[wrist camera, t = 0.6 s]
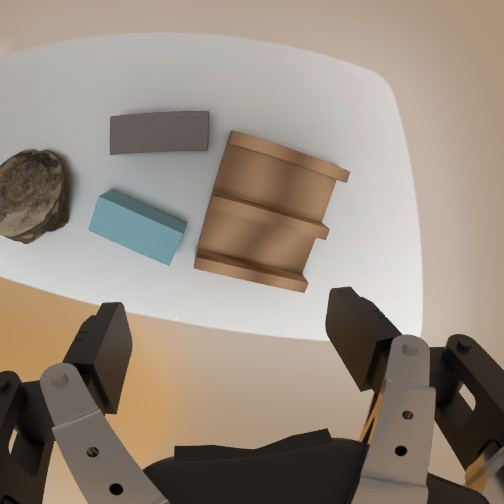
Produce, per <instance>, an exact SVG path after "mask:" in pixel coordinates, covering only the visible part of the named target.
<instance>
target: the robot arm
mask: <svg viewBox="0 0 504 504" xmlns="http://www.w3.org/2000/svg"><path fill="white" fill-rule="evenodd" d="M325 326H326V332H327V335H328V337H329V339H330V341H331V342H332V344H333V345H334V347H335V349H336V351H337V352H338V354H339V356H340V357H341V359H342V361H343V362H344V364H345V366H346V368H347V369H348V371H349V372H350V374H351V376H352V378H353V379H354V381H355V383H356V384H357V386H358V388H359V390H360V391H361V392H362V391H366V390H369V389H373V391H374V394H373V397H372V400H371V404H370V407H369V411H368V414H367V417H366V420H365V424H364V426H363V430H362V433H361V436H360V438H359V440H358V441H355V440H351V439H345V438H331V436H330V433H329V431H328V429H322V430H318V431H313V432H309V433H303V434H298V435H293V436H290V437H287V438H285V439H282V440H280V441H277V442H275V443H272V444H269V445H266V446H264V447H261V448H258V449H241V448H232V447H224V446H217V445H202V446H175V450H174V452H175V453H174V456H173V457H169V458H166V459H163V460H160V461H158V462H155V463H153V464H151V465H149V466H148V467H146V468H145V469H143V470H142V469H141V468H140V467H139V466H138V464H137V463H136V462H135V460H134V459H133V458H132V456H131V455H130V454H129V452H128V451H127V450H126V448H125V447H124V446H123V444H122V443H121V441H120V440H119V438H118V437H117V435H116V434H115V433H114V431H113V429H112V428H111V426H110V425H109V423H108V422H107V420H106V418H105V413H107V414H117V409H118V405H119V400H120V396H121V392H122V387H123V383H124V379H125V375H126V371H127V367H128V364H129V359H130V356H131V352H132V337H131V332H130V329H129V325H128V321H127V317H126V313H125V309H124V305H123V304H122V303H121V302H109V303H102V305H101V307H100V309H99V310H98V312H97V314H96V315H92V316H90V317H89V318H88V319H87V320H86V321H85V322H83V324H82V325H81V327H80V329H79V331H78V333H77V335H76V337H75V340H74V341H73V342H72V344H71V346H70V348H69V350H68V352H67V354H66V356H65V358H64V360H63V362H62V363H58V364H55V365H52V366H51V367H49V368H47V369H46V370H45V371H44V372H43V374H42V376H41V377H40V380H38V381H31V382H24V383H22V382H21V380H20V378H19V376H18V375H17V374H16V373H15V372H13V371H3V372H0V504H42V501H43V494H44V488H45V482H46V476H47V472H48V466H49V462H50V457H51V453H52V448H53V444H54V441H57V444H58V446H59V448H60V450H61V453H62V455H63V457H64V459H65V461H66V463H67V465H68V467H69V469H70V471H71V473H72V475H73V477H74V479H75V481H76V483H77V485H78V487H79V488H80V490H81V492H82V494H83V495H84V497H85V499H86V501H87V502H88V504H504V370H503V369H502V368H501V367H500V366H499V365H498V364H497V363H496V362H495V361H494V360H493V359H492V358H491V356H489V354H487V352H486V351H485V350H484V349H483V348H482V347H481V346H480V345H479V344H478V343H477V342H476V341H475V340H474V339H472V338H470V337H468V336H466V335H462V334H455V335H452V336H450V337H449V338H448V341H447V343H446V346H445V347H429V346H428V344H427V343H426V342H425V341H424V340H422V339H420V338H419V337H416V336H413V335H402V334H401V333H400V331H399V330H398V329H397V328H396V327H395V326H394V325H393V324H392V323H391V322H390V321H389V319H388V318H387V317H385V315H384V314H383V313H382V312H381V311H379V309H378V308H377V307H376V306H375V304H374V303H373V302H371V301H369V300H367V299H365V298H363V297H360V296H359V295H358V294H357V293H356V292H355V291H354V290H353V289H352V288H351V287H341V288H332V289H331V291H330V294H329V301H328V308H327V315H326V322H325ZM463 384H465V385H466V387H467V388H468V389H469V391H470V392H471V393H472V394H473V396H474V397H475V401H476V405H475V409H474V411H472V409H471V408H470V406H469V405H468V404H467V402H466V401H465V400H464V398H463V397H462V396H461V395H460V393H459V390H460V389H461V387H462V385H463ZM434 420H435V422H436V423H437V425H438V426H439V428H440V430H441V431H442V433H443V434H444V436H445V438H446V439H447V441H448V443H449V444H450V446H451V447H452V449H453V451H454V453H455V454H456V456H457V458H458V460H459V461H460V463H461V465H462V467H463V468H464V470H465V472H466V473H465V483H464V484H463V486H462V485H459V484H456V483H454V482H451V481H448V480H446V479H443V478H441V477H438V476H435V475H433V474H431V473H428V466H429V460H430V453H431V446H432V437H433V427H434ZM13 429H15V430H16V431H17V436H16V439H15V442H14V445H13V448H12V452H11V455H10V453H9V448H8V446H9V441H10V438H11V435H12V432H13Z"/></svg>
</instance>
